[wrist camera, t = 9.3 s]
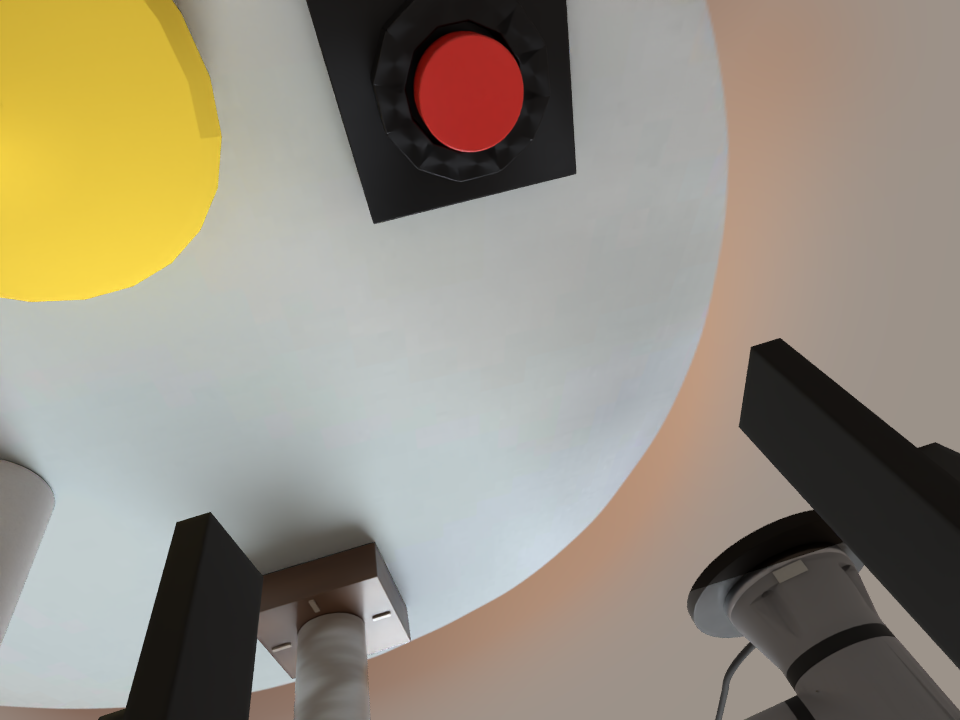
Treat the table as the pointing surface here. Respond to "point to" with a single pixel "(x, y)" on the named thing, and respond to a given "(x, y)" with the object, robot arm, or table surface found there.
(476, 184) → the black button base
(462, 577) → the table surface
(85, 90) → the yellow funnel lid
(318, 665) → the tap knob
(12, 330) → the table surface
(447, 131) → the button
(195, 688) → the robot arm
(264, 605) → the panel
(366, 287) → the table surface
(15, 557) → the coffee cup
